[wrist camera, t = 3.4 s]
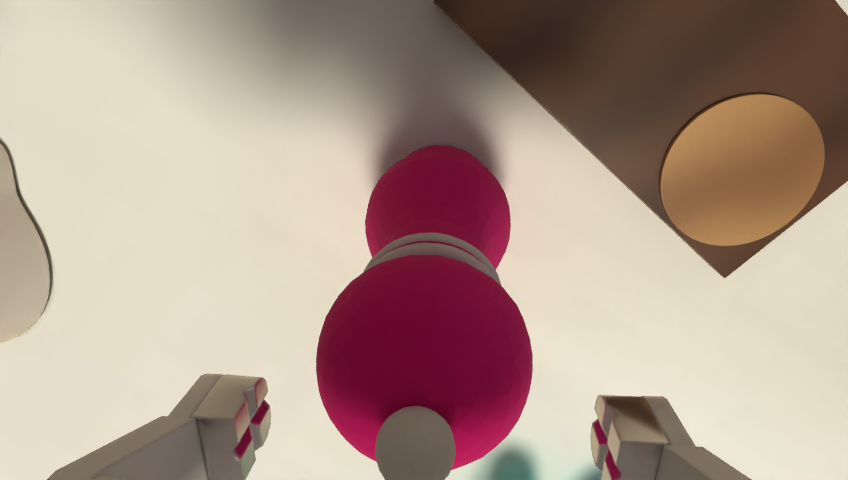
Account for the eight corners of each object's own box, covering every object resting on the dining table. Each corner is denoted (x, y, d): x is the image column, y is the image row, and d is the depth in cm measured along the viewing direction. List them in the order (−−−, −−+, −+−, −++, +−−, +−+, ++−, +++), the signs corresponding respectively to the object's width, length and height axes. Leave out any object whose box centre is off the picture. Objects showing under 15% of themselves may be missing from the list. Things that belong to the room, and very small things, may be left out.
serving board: (433, 4, 25) (432, 0, 23) (616, -232, 21) (630, -256, 19) (712, 267, 29) (727, 281, 27) (905, 111, 25) (937, 116, 24)
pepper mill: (513, 144, 27) (639, 357, 8) (491, 262, 30) (550, 618, 11) (384, 128, 27) (231, 302, 9) (374, 246, 30) (240, 574, 11)
